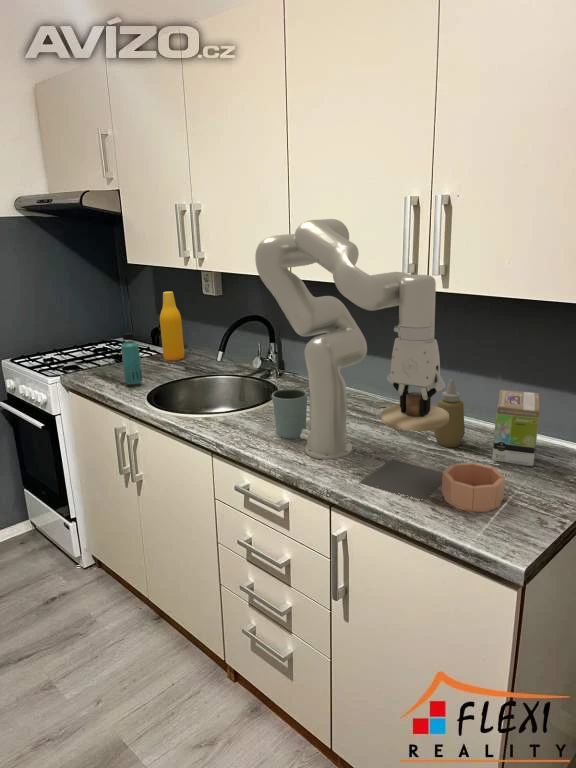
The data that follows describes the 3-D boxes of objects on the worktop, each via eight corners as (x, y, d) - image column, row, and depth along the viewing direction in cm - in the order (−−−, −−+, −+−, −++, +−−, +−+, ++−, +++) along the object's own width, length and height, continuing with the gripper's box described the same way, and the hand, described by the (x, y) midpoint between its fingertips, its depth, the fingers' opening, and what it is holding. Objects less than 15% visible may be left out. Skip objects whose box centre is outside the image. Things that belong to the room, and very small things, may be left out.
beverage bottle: (132, 389, 216) (126, 335, 210) (121, 386, 220) (115, 333, 214) (146, 384, 221) (141, 332, 215) (135, 381, 225) (129, 330, 219)
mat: (358, 484, 137) (358, 482, 137) (392, 460, 149) (392, 459, 149) (421, 503, 127) (421, 501, 127) (452, 476, 139) (452, 475, 139)
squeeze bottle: (427, 444, 158) (429, 380, 153) (443, 436, 164) (446, 374, 158) (454, 452, 153) (457, 386, 147) (469, 443, 158) (473, 379, 153)
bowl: (434, 502, 128) (435, 477, 126) (456, 482, 137) (458, 458, 135) (488, 519, 120) (490, 492, 119) (508, 496, 129) (511, 471, 128)
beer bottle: (163, 356, 262) (157, 291, 253) (184, 354, 263) (179, 290, 254) (163, 361, 253) (156, 294, 244) (184, 359, 254) (179, 293, 246)
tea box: (534, 467, 143) (540, 410, 139) (491, 462, 147) (495, 406, 142) (534, 444, 156) (539, 391, 152) (494, 440, 160) (498, 388, 156)
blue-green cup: (296, 441, 163) (295, 401, 159) (266, 435, 168) (264, 395, 164) (314, 429, 171) (313, 390, 168) (285, 424, 176) (283, 386, 173)
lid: (368, 422, 131) (368, 398, 130) (400, 404, 143) (401, 381, 141) (430, 435, 122) (431, 410, 121) (459, 415, 134) (460, 391, 132)
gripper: (373, 332, 129) (374, 411, 134) (445, 340, 119) (442, 425, 124) (390, 326, 135) (390, 402, 140) (460, 333, 125) (457, 414, 130)
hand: (414, 412), depth 132 cm, fingers closed on lid, 4 cm apart
